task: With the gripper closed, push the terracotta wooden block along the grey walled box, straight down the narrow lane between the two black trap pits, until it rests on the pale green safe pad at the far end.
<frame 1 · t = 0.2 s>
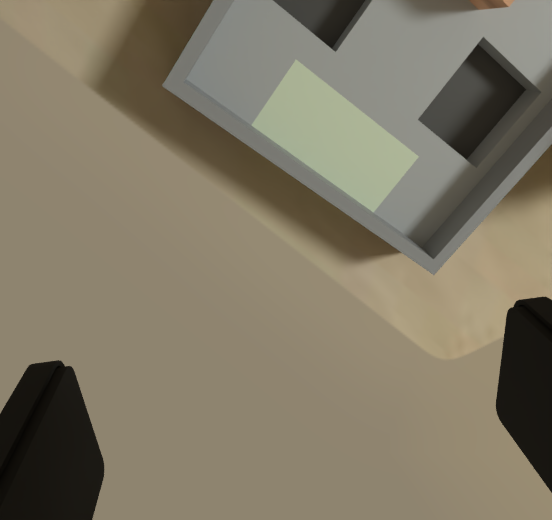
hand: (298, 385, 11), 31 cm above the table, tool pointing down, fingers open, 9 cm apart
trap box: (398, 43, 37), on the table
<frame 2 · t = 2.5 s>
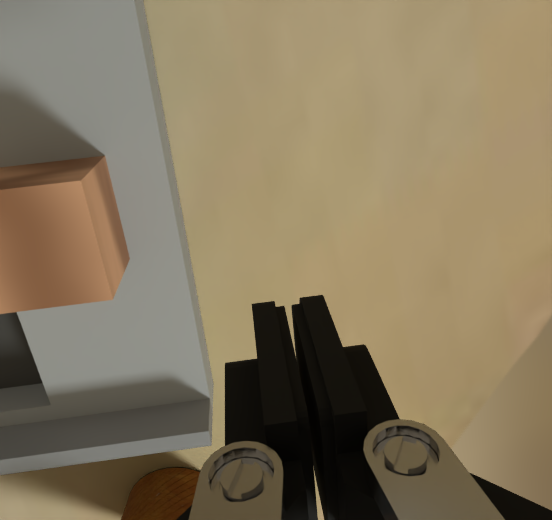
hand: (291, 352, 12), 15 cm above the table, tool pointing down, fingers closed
disposable coffee cup: (176, 497, 34), on the table
block: (62, 216, 22), point 2 cm above the table, touching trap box
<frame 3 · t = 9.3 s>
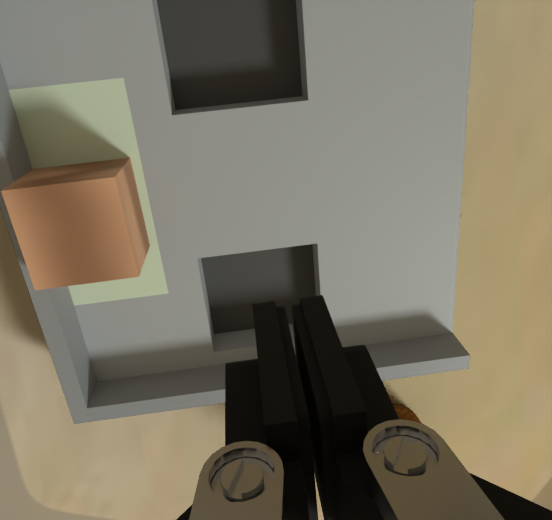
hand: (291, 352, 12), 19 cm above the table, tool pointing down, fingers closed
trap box: (247, 172, 29), on the table
block: (93, 209, 27), point 2 cm above the table, touching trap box
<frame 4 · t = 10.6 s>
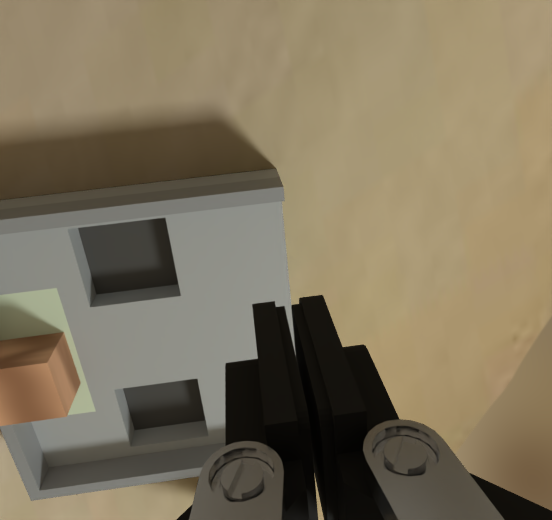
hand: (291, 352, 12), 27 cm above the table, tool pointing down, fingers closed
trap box: (150, 328, 42), on the table
block: (41, 362, 40), point 2 cm above the table, touching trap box
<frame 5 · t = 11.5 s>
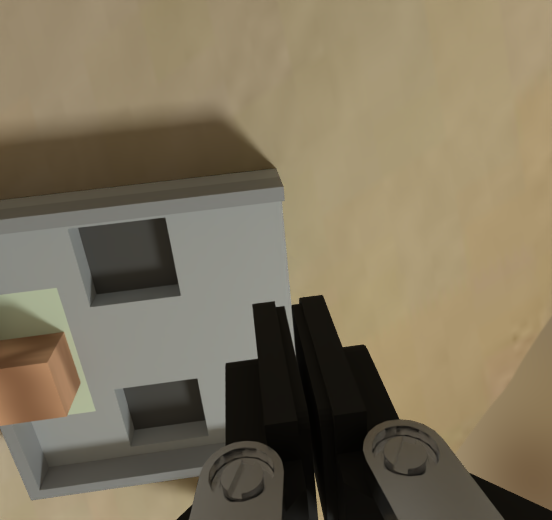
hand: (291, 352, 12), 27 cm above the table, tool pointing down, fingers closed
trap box: (150, 327, 42), on the table
block: (41, 362, 40), point 2 cm above the table, touching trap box
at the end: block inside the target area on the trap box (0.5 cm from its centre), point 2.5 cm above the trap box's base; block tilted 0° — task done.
